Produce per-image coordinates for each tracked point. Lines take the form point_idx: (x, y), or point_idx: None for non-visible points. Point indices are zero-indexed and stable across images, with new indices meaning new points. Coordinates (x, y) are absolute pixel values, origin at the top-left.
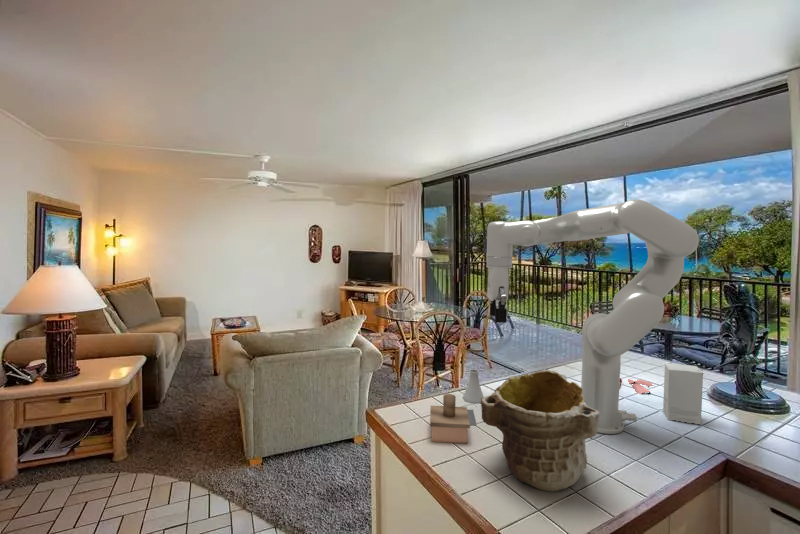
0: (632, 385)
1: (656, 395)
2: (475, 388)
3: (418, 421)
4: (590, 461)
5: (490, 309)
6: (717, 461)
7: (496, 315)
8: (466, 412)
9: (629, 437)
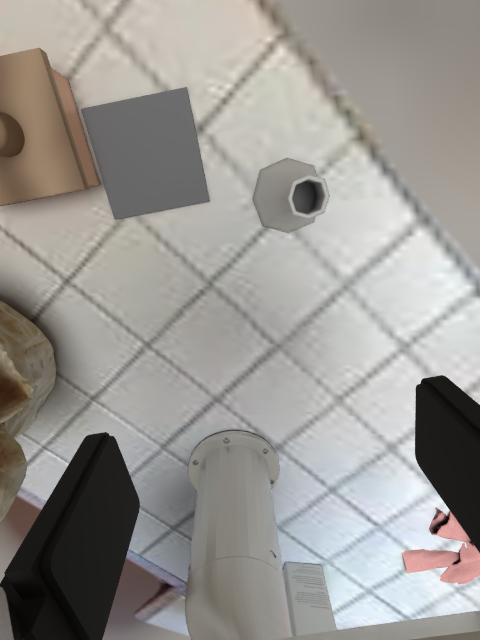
0: (449, 553)
1: (399, 573)
2: (274, 204)
3: (74, 23)
4: (74, 431)
5: (468, 420)
6: (159, 575)
7: (59, 495)
8: (47, 192)
9: (193, 499)
